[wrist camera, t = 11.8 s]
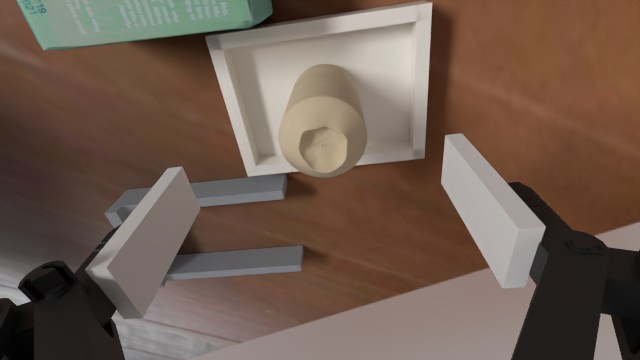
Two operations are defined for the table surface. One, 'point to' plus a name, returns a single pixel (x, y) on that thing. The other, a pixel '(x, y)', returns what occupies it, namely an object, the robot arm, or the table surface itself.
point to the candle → (323, 123)
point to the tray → (336, 49)
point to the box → (134, 19)
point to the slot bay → (225, 260)
